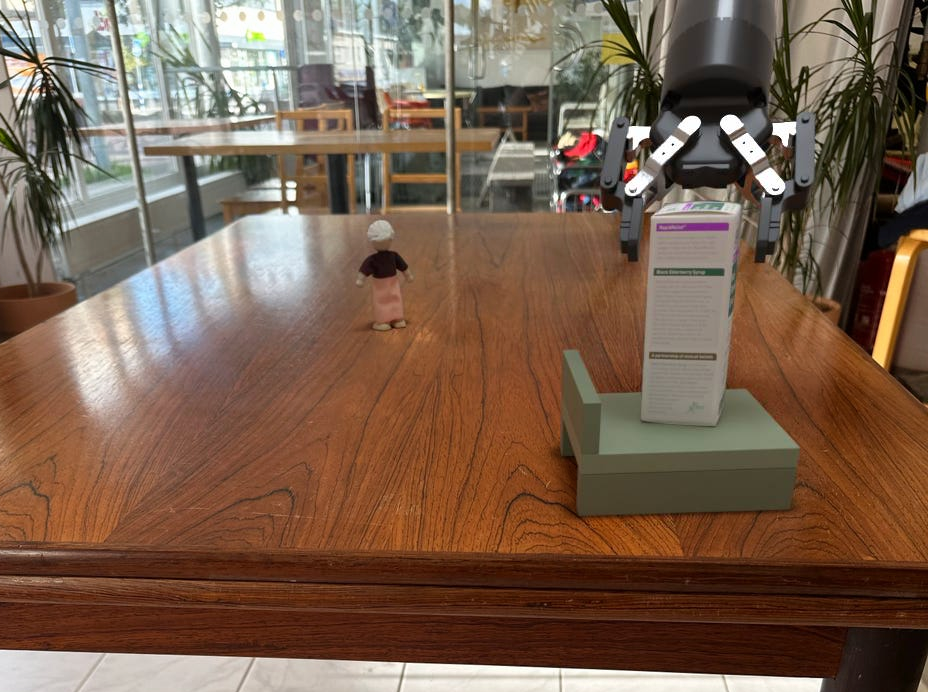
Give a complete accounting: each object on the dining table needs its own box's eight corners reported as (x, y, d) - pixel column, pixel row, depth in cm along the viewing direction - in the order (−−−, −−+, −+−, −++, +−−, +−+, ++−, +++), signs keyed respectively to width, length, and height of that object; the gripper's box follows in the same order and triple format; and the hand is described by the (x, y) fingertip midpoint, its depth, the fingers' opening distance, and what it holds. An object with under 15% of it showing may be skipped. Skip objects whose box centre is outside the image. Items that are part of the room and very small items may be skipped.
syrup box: (717, 428, 68) (742, 210, 61) (636, 422, 70) (650, 210, 63) (724, 404, 73) (748, 199, 65) (647, 399, 75) (662, 199, 67)
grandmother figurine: (401, 320, 124) (395, 215, 118) (419, 324, 121) (413, 217, 115) (353, 330, 120) (344, 222, 113) (371, 335, 117) (362, 225, 111)
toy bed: (738, 447, 79) (751, 343, 75) (789, 514, 67) (809, 395, 63) (559, 453, 79) (562, 349, 75) (578, 521, 67) (583, 403, 63)
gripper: (617, 19, 66) (587, 219, 63) (833, 7, 63) (814, 218, 59) (621, 103, 73) (595, 287, 70) (815, 96, 70) (797, 290, 66)
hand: (695, 255), depth 64 cm, fingers open, 8 cm apart
